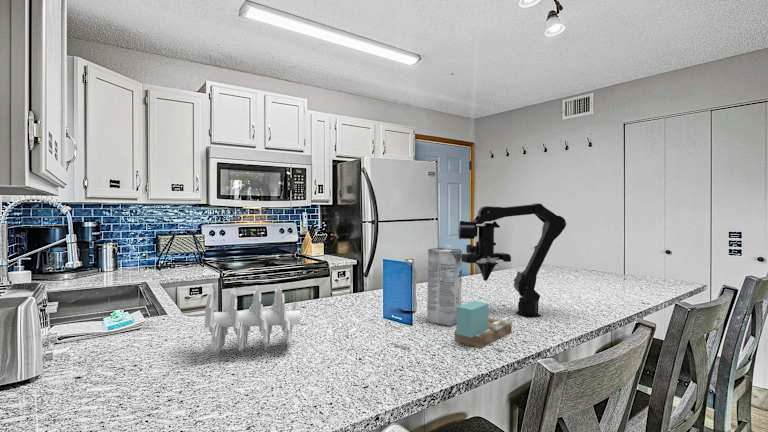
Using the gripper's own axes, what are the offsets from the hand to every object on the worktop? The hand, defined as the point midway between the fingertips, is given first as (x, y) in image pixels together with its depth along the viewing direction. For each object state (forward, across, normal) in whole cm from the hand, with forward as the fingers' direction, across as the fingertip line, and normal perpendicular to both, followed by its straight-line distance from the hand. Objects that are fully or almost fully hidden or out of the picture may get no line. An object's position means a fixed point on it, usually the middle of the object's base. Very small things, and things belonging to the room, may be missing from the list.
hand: (485, 280), depth 150 cm
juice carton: (+13, +20, +6) cm, 24 cm away
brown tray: (+12, +14, +23) cm, 30 cm away
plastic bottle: (+13, +27, -10) cm, 31 cm away
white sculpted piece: (+13, +83, +15) cm, 85 cm away
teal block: (+9, +21, +27) cm, 35 cm away
